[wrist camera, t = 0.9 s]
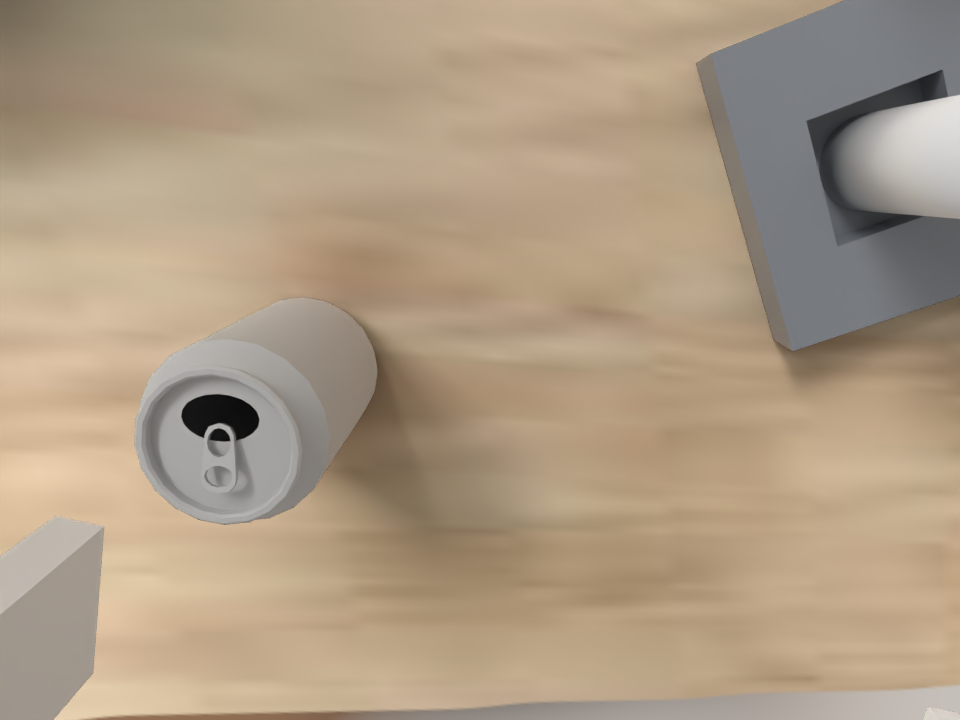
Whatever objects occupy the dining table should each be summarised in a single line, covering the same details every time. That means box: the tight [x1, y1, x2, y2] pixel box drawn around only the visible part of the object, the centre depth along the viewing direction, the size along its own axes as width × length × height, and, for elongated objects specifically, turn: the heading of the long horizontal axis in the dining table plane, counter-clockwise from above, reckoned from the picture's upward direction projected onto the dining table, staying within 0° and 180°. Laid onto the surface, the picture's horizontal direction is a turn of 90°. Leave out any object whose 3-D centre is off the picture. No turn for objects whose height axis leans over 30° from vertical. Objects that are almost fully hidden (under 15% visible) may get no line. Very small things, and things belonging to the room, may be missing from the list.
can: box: [134, 297, 378, 525], centre depth 30 cm, size 8×8×12 cm
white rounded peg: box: [819, 95, 960, 219], centre depth 26 cm, size 4×4×11 cm
